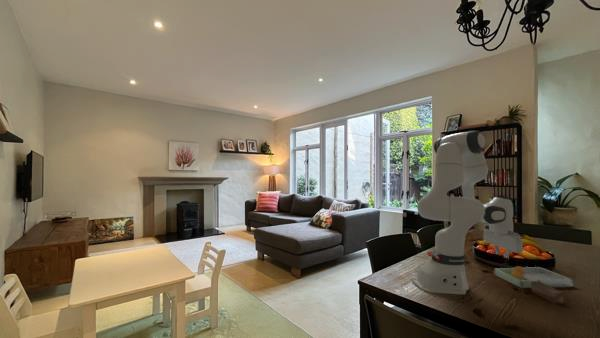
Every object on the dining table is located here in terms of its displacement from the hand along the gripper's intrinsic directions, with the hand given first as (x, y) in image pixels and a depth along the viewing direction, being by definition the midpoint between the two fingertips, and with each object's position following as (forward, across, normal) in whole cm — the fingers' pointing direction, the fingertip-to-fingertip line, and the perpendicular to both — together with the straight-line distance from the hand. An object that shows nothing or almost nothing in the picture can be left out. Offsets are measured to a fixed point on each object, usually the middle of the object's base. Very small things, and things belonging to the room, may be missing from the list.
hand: (502, 255), depth 132 cm
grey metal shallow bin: (+7, -14, -6) cm, 17 cm away
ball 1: (+4, -10, +1) cm, 11 cm away
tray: (+7, -14, +6) cm, 16 cm away
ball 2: (+4, -15, +6) cm, 16 cm away
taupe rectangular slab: (+7, -29, +8) cm, 31 cm away
